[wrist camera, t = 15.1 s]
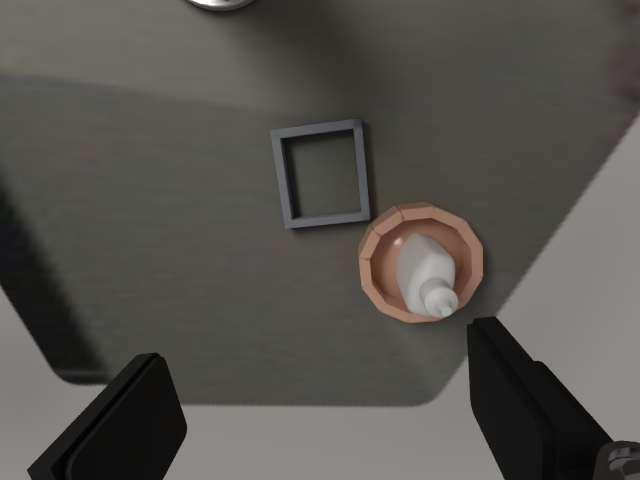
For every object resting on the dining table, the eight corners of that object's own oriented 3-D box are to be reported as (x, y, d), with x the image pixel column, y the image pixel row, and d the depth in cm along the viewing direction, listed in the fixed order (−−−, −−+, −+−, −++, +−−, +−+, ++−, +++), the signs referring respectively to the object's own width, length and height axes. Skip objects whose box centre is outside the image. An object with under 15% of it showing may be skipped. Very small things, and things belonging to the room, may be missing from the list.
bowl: (353, 209, 35) (354, 215, 32) (468, 196, 34) (482, 201, 30) (364, 310, 38) (365, 326, 34) (470, 302, 36) (483, 317, 33)
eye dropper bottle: (449, 255, 34) (501, 307, 23) (407, 290, 36) (435, 356, 24) (421, 224, 34) (458, 262, 22) (379, 261, 35) (393, 315, 24)
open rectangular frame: (273, 131, 34) (270, 130, 32) (360, 119, 33) (361, 117, 31) (287, 225, 36) (285, 228, 35) (369, 217, 35) (370, 219, 34)
